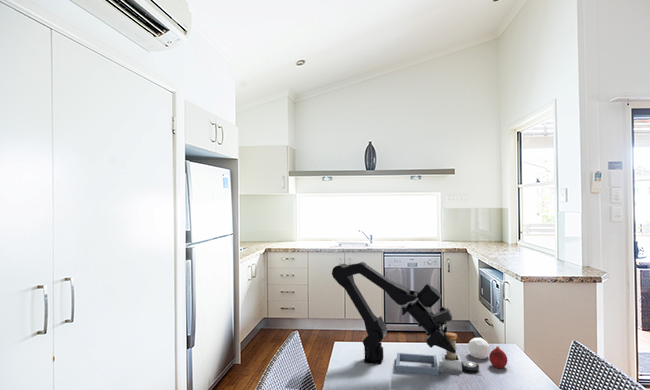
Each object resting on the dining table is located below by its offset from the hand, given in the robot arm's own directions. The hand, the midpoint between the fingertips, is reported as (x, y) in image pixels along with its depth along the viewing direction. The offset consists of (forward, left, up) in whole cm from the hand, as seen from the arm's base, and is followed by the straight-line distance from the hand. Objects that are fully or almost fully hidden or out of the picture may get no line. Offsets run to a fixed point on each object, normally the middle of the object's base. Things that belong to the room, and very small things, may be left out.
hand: (455, 350), depth 128 cm
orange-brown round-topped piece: (-1, 0, -6) cm, 6 cm away
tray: (-13, -1, -7) cm, 15 cm away
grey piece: (+1, 0, -7) cm, 7 cm away
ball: (+10, +13, -7) cm, 18 cm away
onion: (+15, +4, -7) cm, 17 cm away
